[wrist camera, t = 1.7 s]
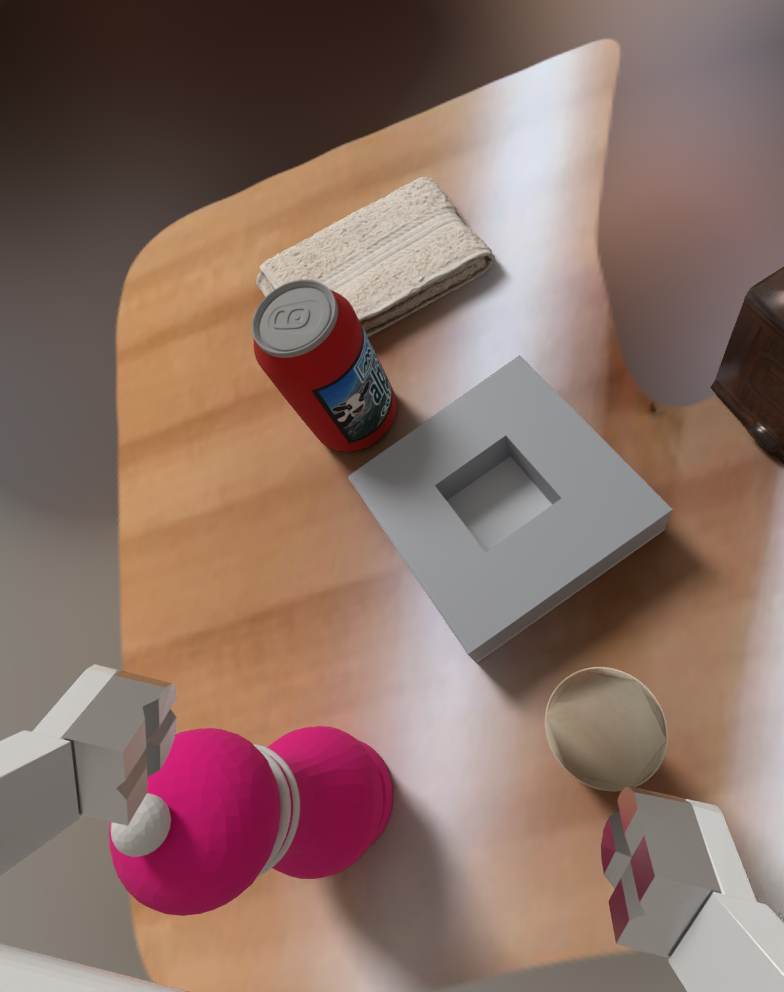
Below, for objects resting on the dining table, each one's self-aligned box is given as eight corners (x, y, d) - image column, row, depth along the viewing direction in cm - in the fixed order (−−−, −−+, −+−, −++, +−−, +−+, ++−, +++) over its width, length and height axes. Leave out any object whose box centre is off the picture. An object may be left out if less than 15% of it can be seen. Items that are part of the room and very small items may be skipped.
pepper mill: (409, 858, 34) (231, 964, 16) (289, 871, 35) (6, 981, 18) (394, 721, 37) (230, 686, 19) (284, 738, 39) (37, 719, 21)
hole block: (523, 383, 44) (519, 355, 41) (664, 530, 37) (672, 509, 34) (363, 496, 44) (347, 476, 41) (476, 663, 37) (467, 654, 34)
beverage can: (392, 458, 44) (335, 362, 34) (307, 456, 46) (228, 365, 36) (406, 378, 47) (356, 265, 36) (324, 379, 49) (255, 273, 38)
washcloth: (260, 288, 55) (243, 263, 53) (434, 187, 54) (427, 157, 52) (304, 380, 50) (288, 358, 47) (499, 271, 49) (494, 242, 46)
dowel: (598, 685, 35) (612, 644, 23) (649, 751, 33) (695, 746, 21) (540, 727, 35) (521, 708, 22) (588, 795, 33) (596, 816, 21)
